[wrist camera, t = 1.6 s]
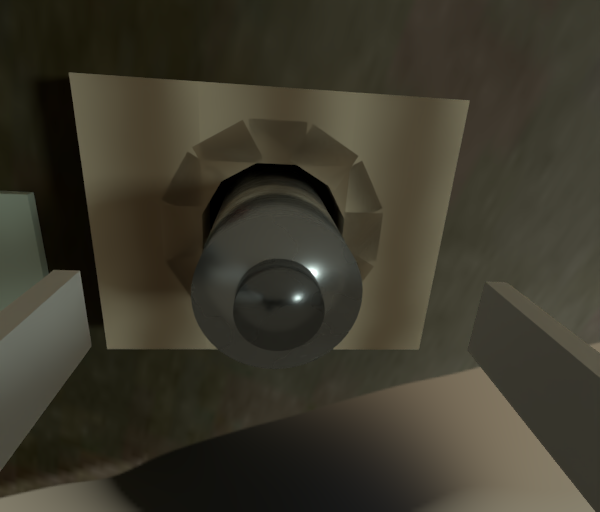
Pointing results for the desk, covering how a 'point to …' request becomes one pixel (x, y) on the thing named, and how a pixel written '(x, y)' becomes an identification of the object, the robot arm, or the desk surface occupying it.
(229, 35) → the desk surface
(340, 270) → the gray knobbed peg
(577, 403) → the robot arm
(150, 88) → the housing
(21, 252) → the mat
